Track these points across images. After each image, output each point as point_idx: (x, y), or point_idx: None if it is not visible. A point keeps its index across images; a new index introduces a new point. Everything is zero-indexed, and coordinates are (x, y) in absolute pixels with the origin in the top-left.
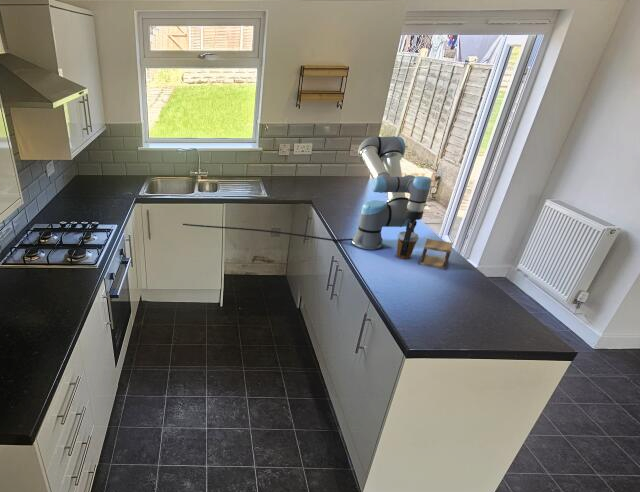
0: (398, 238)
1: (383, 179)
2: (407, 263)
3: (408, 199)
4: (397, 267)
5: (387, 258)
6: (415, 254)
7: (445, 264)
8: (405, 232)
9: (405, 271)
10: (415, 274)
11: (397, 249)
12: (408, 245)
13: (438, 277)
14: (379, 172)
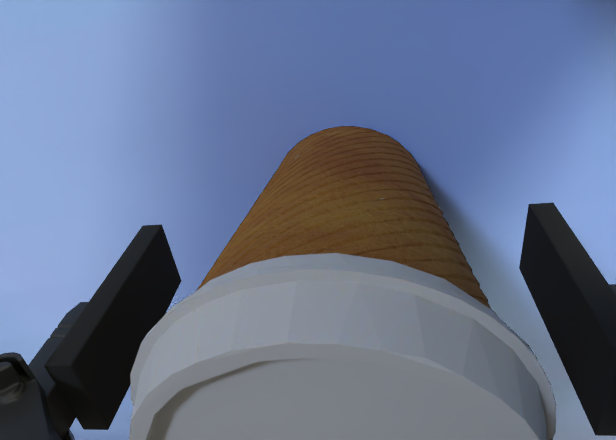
0: (252, 263)
1: None
2: (197, 260)
3: None
4: (28, 207)
5: (168, 53)
6: (497, 282)
7: None
8: (502, 417)
9: (13, 274)
10: (32, 335)
11: (288, 171)
12: (123, 396)
13: (120, 434)
14: None
